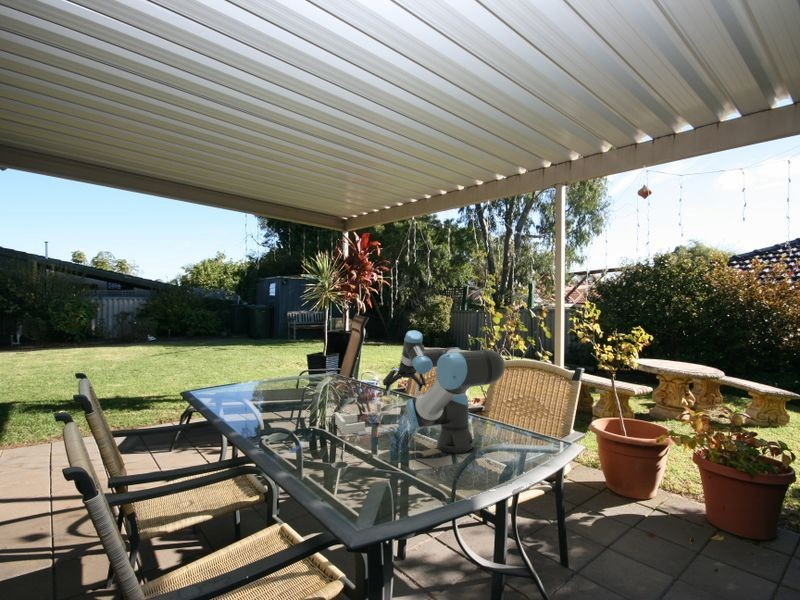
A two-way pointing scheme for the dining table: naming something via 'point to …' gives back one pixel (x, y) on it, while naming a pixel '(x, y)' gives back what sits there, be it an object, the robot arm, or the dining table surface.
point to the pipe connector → (379, 413)
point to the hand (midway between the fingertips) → (402, 395)
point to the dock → (349, 428)
